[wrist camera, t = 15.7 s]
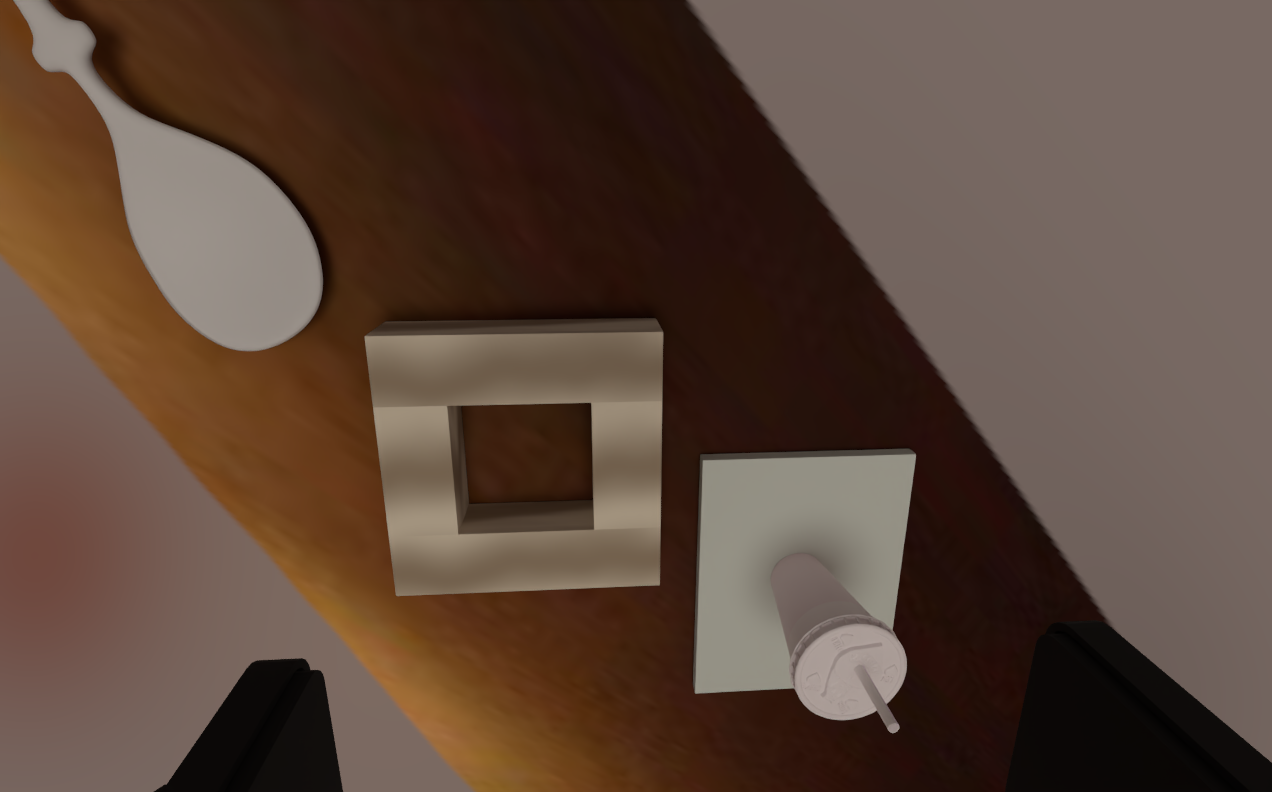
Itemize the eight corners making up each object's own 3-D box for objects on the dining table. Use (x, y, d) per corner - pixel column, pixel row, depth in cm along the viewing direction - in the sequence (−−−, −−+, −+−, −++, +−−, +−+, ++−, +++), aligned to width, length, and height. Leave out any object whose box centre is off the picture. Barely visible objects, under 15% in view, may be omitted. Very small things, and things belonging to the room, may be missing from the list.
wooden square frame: (385, 321, 40) (364, 336, 36) (655, 318, 41) (663, 331, 37) (411, 560, 45) (396, 595, 41) (653, 551, 46) (659, 584, 42)
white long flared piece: (-56, -336, 30) (-135, -400, 27) (367, 295, 40) (347, 306, 36) (-215, -226, 31) (-310, -275, 28) (238, 368, 40) (208, 384, 37)
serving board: (700, 454, 44) (702, 460, 43) (909, 448, 45) (916, 454, 44) (692, 683, 49) (695, 693, 48) (879, 673, 50) (885, 683, 49)
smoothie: (862, 568, 46) (976, 722, 33) (799, 633, 48) (885, 807, 34) (794, 517, 45) (885, 657, 31) (731, 586, 46) (793, 749, 33)
